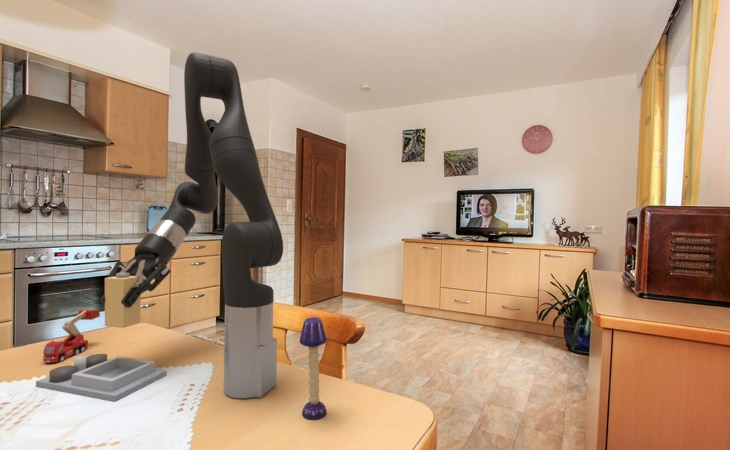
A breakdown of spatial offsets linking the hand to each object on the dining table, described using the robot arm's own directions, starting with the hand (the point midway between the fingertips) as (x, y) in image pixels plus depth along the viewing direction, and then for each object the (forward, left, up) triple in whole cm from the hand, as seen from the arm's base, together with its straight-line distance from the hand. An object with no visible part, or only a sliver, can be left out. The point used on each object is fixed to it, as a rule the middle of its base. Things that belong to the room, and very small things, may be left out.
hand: (114, 304), depth 76 cm
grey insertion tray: (+2, +1, -16) cm, 16 cm away
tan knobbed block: (0, -2, -5) cm, 5 cm away
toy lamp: (-44, 0, -16) cm, 47 cm away
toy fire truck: (+23, -8, -16) cm, 29 cm away
